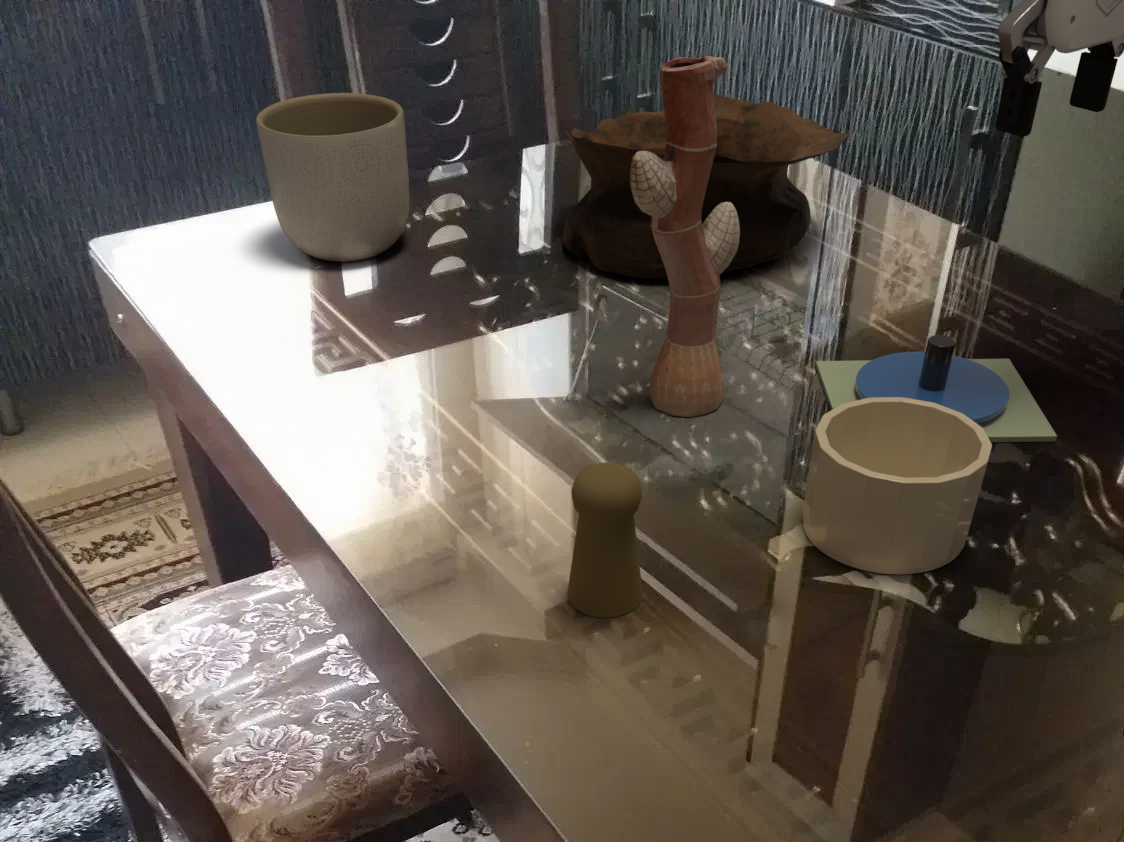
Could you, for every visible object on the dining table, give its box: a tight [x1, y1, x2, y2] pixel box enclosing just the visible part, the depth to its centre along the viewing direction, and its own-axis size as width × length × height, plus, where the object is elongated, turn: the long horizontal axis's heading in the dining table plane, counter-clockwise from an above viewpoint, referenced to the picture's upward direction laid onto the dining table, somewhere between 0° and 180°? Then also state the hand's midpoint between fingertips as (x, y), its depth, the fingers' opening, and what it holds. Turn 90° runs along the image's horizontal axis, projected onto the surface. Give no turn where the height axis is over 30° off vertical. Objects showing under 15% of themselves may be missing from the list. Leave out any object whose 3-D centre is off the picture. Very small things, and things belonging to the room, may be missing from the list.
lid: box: [855, 334, 1010, 424], centre depth 111 cm, size 15×15×6 cm
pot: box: [801, 397, 993, 575], centre depth 95 cm, size 14×14×8 cm
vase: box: [630, 55, 740, 418], centre depth 104 cm, size 10×7×30 cm
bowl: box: [562, 93, 851, 280], centre depth 139 cm, size 34×33×15 cm
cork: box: [566, 461, 644, 619], centre depth 88 cm, size 6×6×11 cm
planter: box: [255, 92, 410, 263], centre depth 138 cm, size 17×17×15 cm
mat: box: [814, 358, 1058, 443], centre depth 113 cm, size 20×16×1 cm
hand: (1049, 120), depth 97 cm, fingers open, 9 cm apart
